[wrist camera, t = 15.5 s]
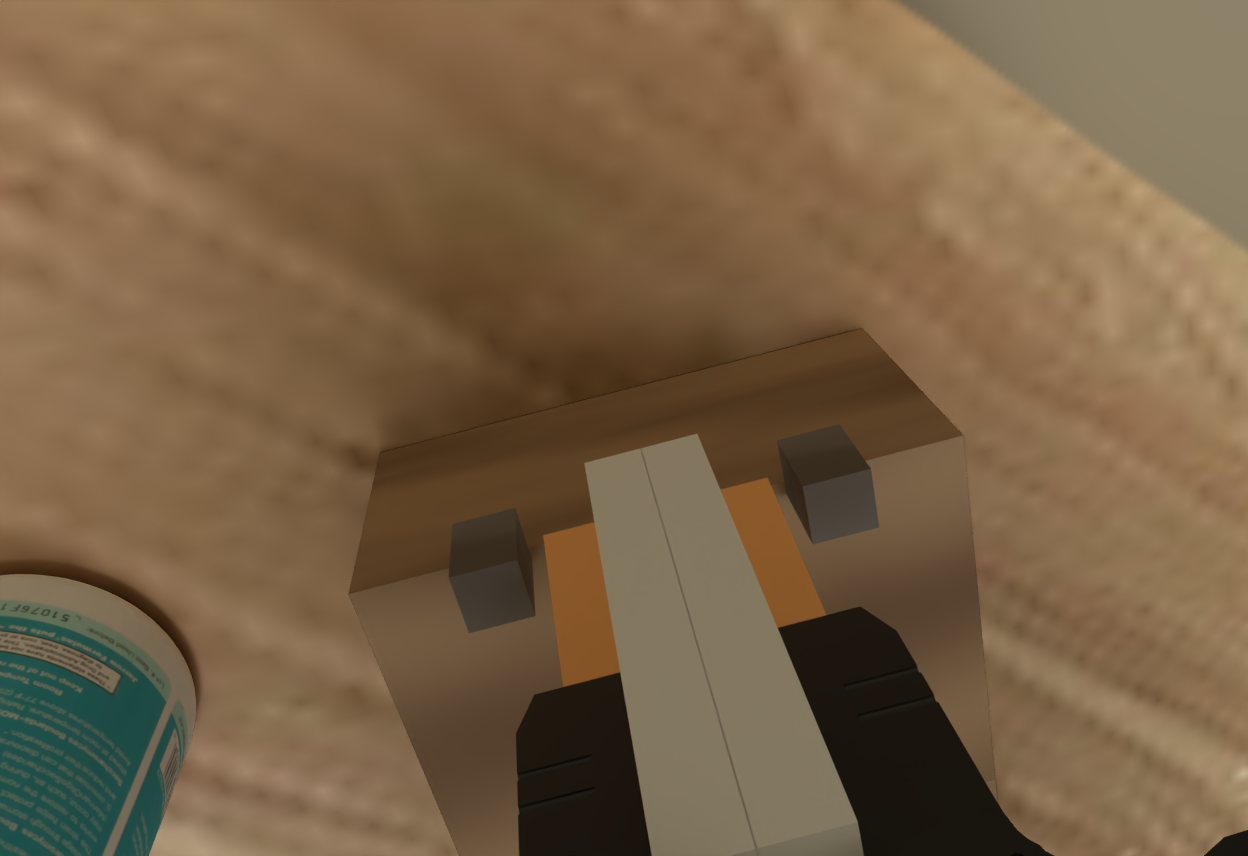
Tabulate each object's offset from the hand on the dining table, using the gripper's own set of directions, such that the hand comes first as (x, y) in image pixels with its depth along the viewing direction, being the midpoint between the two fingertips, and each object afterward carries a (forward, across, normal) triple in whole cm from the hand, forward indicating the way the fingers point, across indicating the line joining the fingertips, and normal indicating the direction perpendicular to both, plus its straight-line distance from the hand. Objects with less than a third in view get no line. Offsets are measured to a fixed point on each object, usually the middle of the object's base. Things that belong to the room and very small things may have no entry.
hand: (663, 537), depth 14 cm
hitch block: (+11, 0, +11) cm, 15 cm away
